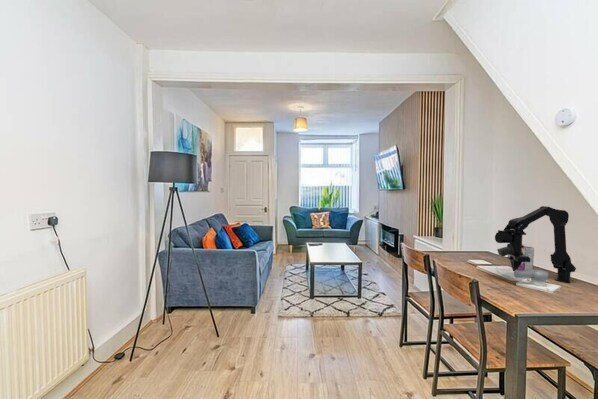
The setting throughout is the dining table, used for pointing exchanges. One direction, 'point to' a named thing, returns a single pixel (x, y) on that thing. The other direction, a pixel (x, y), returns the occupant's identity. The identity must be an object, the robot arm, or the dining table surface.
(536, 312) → the dining table surface
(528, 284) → the duct base
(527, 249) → the candy bar box
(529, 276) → the duct elbow
